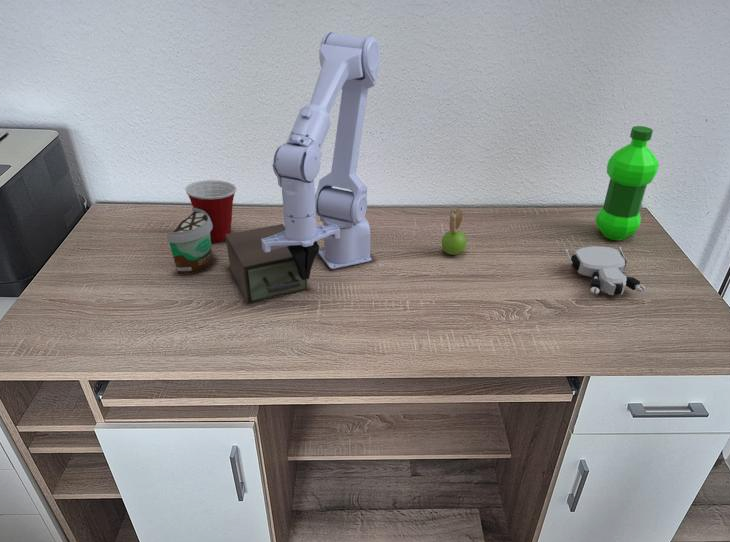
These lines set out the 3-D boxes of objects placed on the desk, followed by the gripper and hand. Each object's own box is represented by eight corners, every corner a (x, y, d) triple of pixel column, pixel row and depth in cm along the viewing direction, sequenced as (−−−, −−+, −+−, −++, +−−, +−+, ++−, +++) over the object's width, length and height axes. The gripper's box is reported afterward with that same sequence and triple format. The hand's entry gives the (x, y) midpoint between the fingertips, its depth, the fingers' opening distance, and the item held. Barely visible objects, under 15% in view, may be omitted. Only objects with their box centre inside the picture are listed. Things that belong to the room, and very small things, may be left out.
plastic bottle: (646, 240, 143) (679, 134, 129) (610, 248, 140) (639, 139, 125) (617, 222, 151) (645, 119, 136) (582, 229, 147) (607, 124, 133)
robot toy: (644, 302, 124) (614, 260, 135) (651, 284, 121) (620, 242, 132) (586, 305, 122) (560, 262, 134) (592, 287, 119) (565, 244, 131)
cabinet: (307, 289, 123) (305, 254, 118) (248, 302, 119) (243, 266, 114) (285, 257, 133) (282, 223, 129) (230, 268, 129) (225, 234, 124)
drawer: (313, 300, 119) (312, 271, 115) (258, 313, 115) (255, 283, 111) (284, 258, 132) (282, 230, 128) (234, 268, 128) (230, 240, 124)
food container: (202, 281, 125) (194, 236, 119) (174, 277, 126) (165, 233, 120) (227, 252, 135) (221, 209, 129) (200, 248, 135) (193, 206, 130)
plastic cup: (252, 233, 142) (246, 184, 135) (218, 252, 134) (210, 201, 127) (217, 221, 146) (210, 173, 139) (183, 239, 139) (173, 189, 132)
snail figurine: (435, 258, 134) (440, 207, 127) (444, 245, 139) (449, 195, 132) (459, 263, 133) (465, 212, 126) (468, 250, 138) (473, 200, 131)
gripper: (267, 227, 105) (273, 295, 113) (345, 213, 110) (347, 278, 118) (255, 211, 110) (262, 277, 118) (331, 198, 116) (333, 262, 123)
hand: (304, 277), depth 118 cm, fingers closed, pressing on drawer
